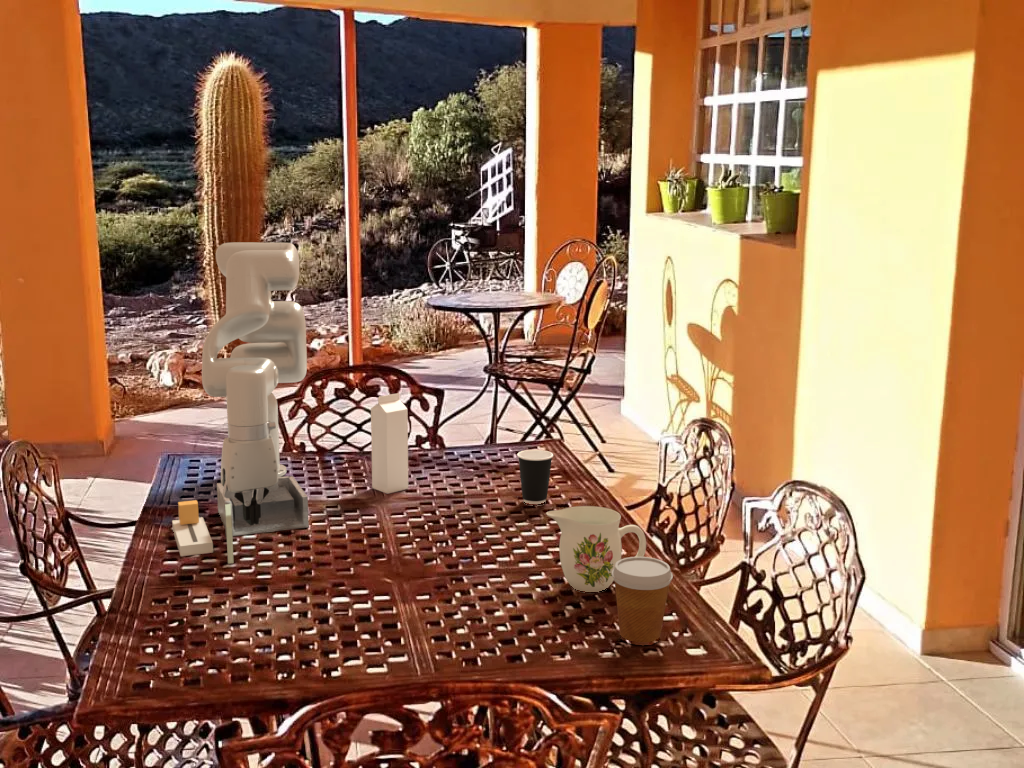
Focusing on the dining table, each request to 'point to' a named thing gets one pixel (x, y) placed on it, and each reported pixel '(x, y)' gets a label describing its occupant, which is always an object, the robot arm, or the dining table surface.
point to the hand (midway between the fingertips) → (252, 522)
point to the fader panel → (192, 538)
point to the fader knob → (188, 512)
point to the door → (229, 530)
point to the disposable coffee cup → (641, 596)
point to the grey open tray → (270, 509)
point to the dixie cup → (534, 475)
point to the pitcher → (591, 545)
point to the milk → (389, 444)
